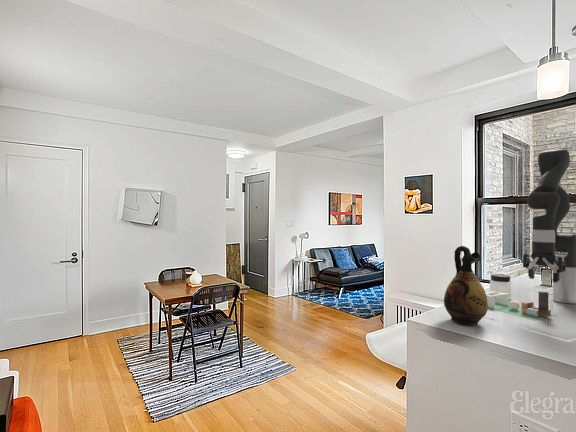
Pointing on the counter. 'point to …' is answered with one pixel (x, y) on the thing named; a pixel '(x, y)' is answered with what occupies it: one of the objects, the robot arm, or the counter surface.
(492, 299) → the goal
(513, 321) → the counter surface
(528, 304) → the wooden peg with knob
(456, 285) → the ceramic jug
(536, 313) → the bracket
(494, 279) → the jar
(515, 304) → the ball
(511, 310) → the pitch mat
